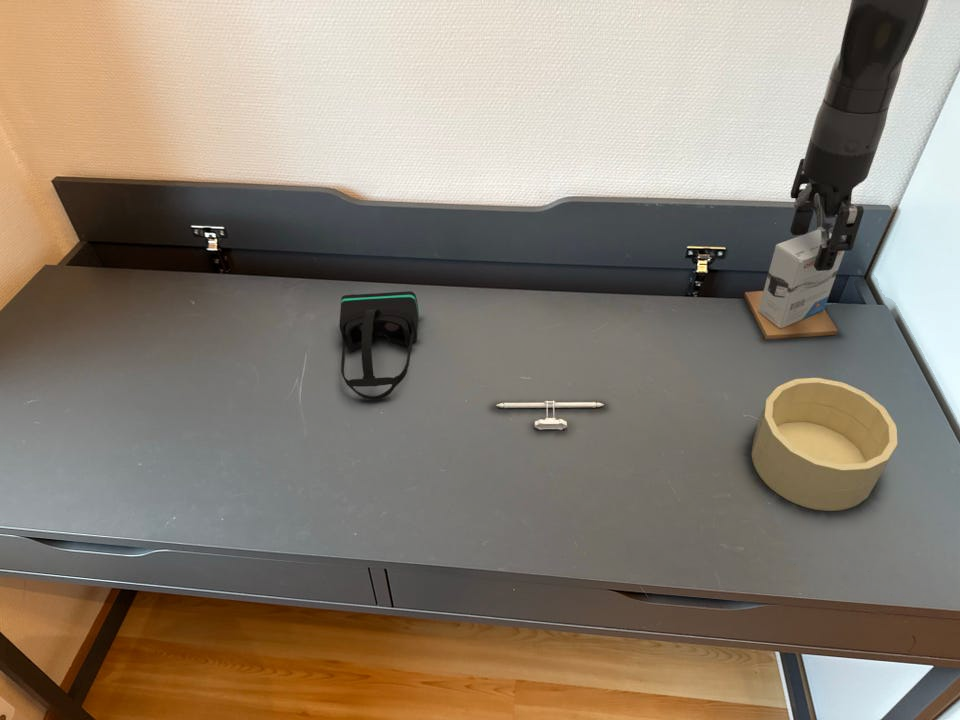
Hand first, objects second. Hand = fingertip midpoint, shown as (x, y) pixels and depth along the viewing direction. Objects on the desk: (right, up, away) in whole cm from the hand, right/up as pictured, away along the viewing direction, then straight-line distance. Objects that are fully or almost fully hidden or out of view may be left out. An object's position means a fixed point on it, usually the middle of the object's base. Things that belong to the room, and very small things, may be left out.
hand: (809, 250), depth 95 cm
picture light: (-36, -22, -4) cm, 42 cm away
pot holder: (0, -8, +8) cm, 11 cm away
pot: (-5, -27, -12) cm, 30 cm away
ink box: (0, -8, +7) cm, 11 cm away
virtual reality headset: (-59, -15, +5) cm, 61 cm away
